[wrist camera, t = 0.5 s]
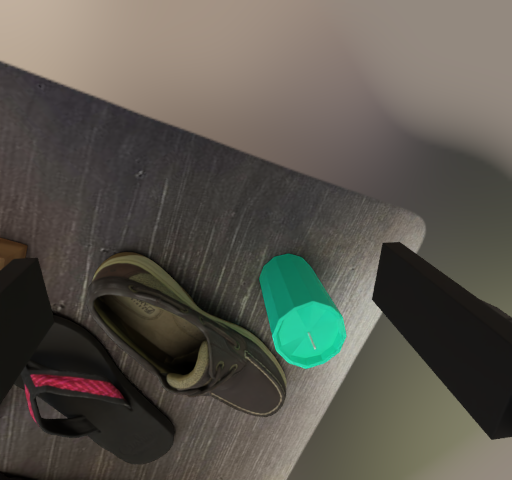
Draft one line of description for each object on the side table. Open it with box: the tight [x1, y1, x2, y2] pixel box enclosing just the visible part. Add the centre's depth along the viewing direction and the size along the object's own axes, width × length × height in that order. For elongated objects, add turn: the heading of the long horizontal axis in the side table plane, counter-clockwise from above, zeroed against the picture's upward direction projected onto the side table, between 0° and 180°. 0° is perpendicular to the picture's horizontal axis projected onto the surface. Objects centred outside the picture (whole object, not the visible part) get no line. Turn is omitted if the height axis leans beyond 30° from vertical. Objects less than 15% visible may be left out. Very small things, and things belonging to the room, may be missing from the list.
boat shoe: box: [86, 252, 286, 417], centre depth 33 cm, size 9×25×8 cm, turn 48°
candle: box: [259, 253, 346, 369], centre depth 30 cm, size 6×6×12 cm
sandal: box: [14, 315, 174, 464], centre depth 35 cm, size 10×25×6 cm, turn 37°
